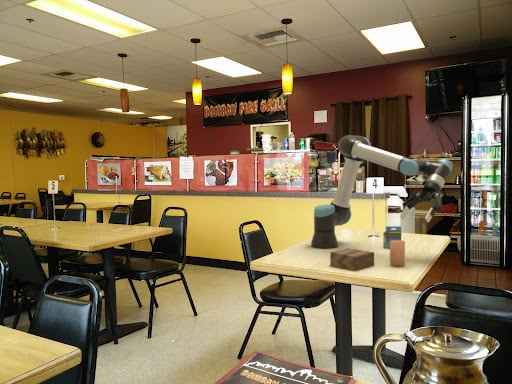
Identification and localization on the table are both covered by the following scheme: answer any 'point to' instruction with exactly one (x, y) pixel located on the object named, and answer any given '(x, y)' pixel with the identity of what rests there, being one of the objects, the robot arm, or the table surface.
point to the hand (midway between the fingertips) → (413, 219)
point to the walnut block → (352, 259)
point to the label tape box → (391, 235)
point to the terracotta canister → (397, 253)
